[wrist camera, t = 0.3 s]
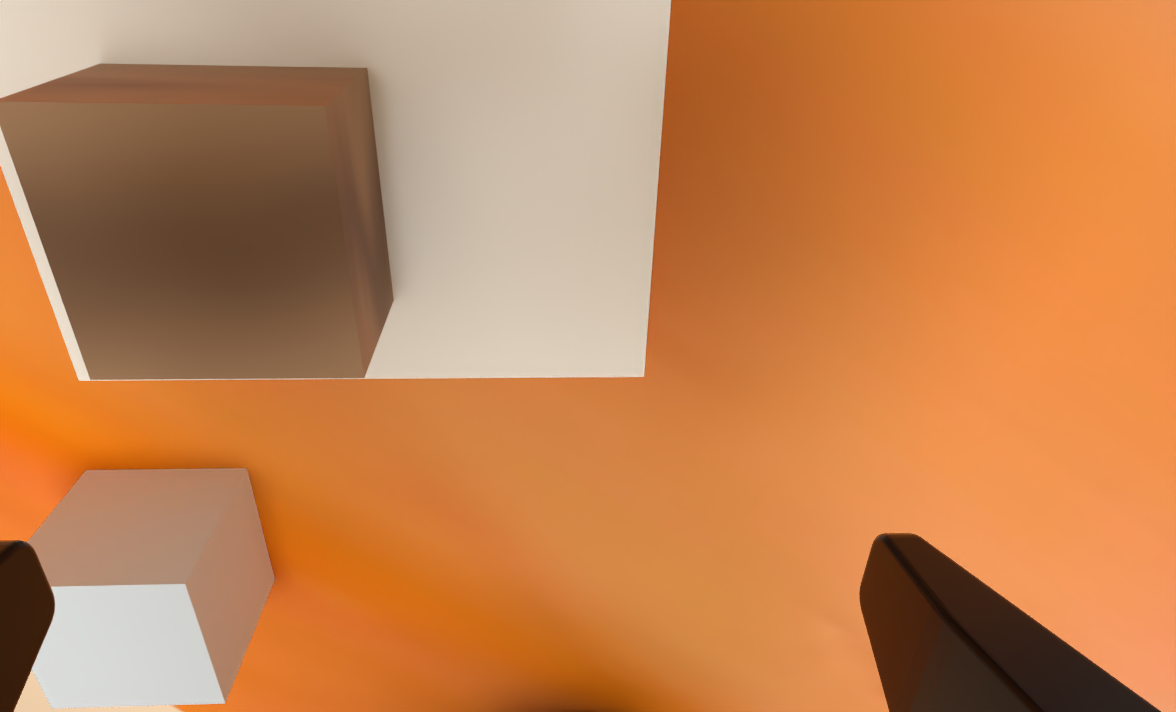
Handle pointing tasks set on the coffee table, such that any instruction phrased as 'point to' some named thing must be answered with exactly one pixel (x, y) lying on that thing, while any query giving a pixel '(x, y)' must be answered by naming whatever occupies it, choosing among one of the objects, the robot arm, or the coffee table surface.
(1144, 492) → the coffee table surface
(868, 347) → the coffee table surface
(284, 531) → the coffee table surface
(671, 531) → the coffee table surface
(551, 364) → the plate
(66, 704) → the top block
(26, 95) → the base block
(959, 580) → the robot arm
